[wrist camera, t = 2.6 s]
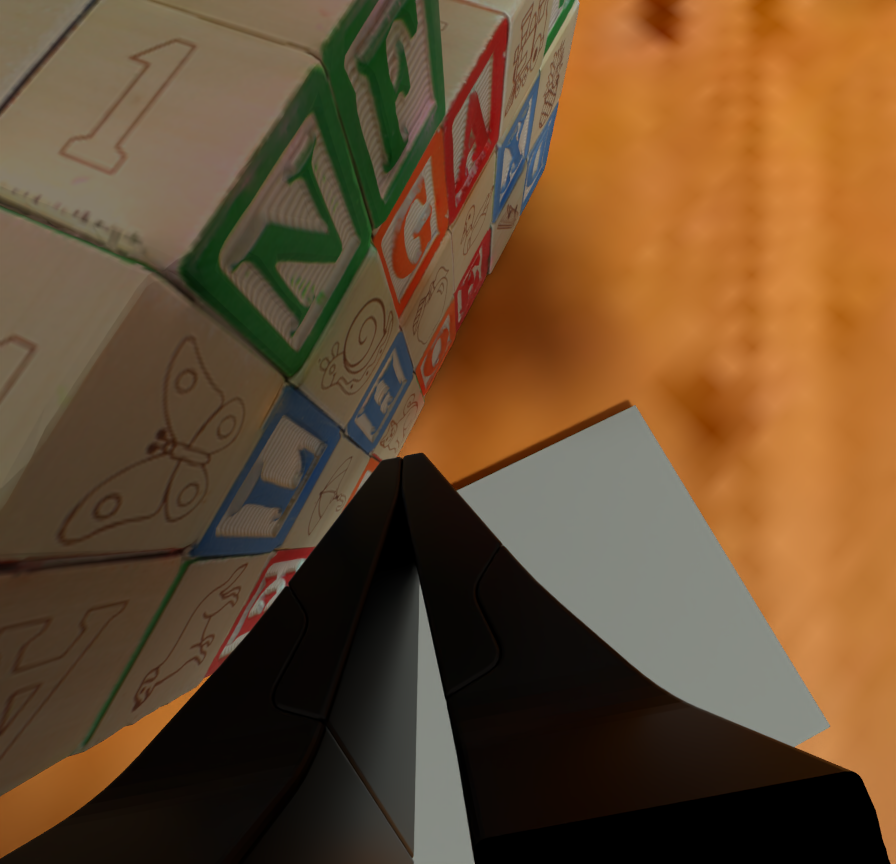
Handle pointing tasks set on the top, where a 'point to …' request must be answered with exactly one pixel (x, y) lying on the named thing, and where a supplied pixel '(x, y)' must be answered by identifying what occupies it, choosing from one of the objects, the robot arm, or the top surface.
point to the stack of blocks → (225, 307)
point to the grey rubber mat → (615, 601)
